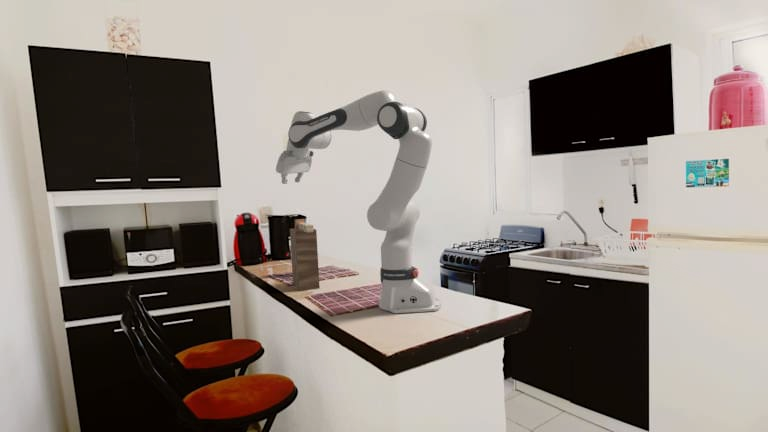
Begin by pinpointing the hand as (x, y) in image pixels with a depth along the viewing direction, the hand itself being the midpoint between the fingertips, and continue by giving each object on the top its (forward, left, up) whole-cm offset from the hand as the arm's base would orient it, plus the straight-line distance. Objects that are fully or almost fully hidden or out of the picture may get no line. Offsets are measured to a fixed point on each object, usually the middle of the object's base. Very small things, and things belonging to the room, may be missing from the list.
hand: (290, 182), depth 174 cm
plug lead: (-2, -8, -21) cm, 22 cm away
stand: (0, -12, -47) cm, 48 cm away
